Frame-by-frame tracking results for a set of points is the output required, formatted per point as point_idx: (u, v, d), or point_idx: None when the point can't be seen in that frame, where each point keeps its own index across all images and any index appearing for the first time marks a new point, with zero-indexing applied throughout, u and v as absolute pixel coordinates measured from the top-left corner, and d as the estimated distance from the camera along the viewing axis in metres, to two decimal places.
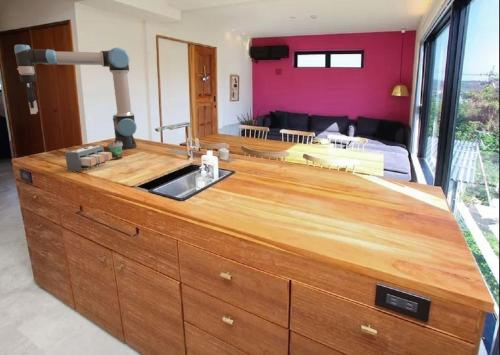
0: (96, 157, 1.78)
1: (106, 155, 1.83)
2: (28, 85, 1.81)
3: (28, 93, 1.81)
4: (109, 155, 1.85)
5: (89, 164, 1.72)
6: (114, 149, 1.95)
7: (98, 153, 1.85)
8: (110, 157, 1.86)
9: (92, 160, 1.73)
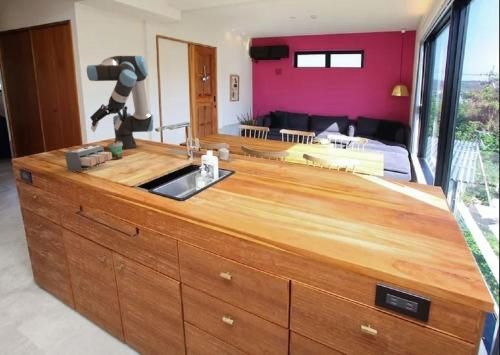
0: (96, 157, 1.78)
1: (106, 155, 1.83)
2: None
3: None
4: (109, 155, 1.85)
5: (89, 164, 1.72)
6: (114, 149, 1.95)
7: (98, 153, 1.85)
8: (110, 157, 1.86)
9: (92, 160, 1.73)
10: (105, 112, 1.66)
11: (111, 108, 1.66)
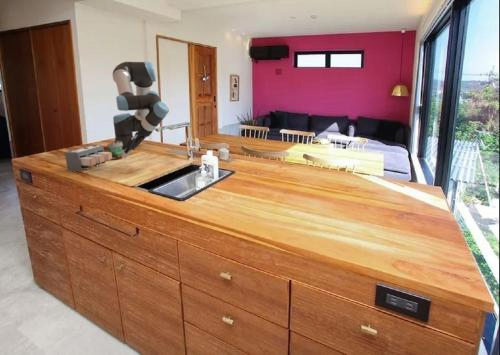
0: (96, 157, 1.78)
1: (106, 155, 1.83)
2: None
3: None
4: (109, 155, 1.85)
5: (89, 164, 1.72)
6: (114, 149, 1.95)
7: (98, 153, 1.85)
8: (110, 157, 1.86)
9: (92, 160, 1.73)
10: (134, 140, 1.75)
11: (139, 136, 1.72)
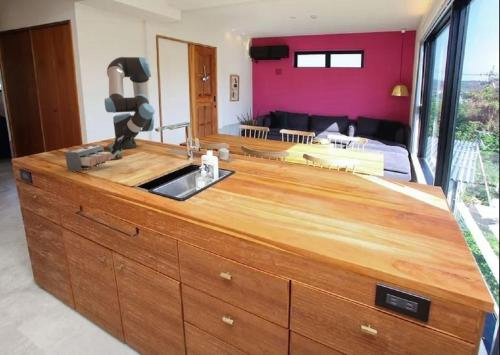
0: (96, 157, 1.78)
1: (106, 155, 1.83)
2: None
3: None
4: None
5: (89, 164, 1.72)
6: None
7: (98, 153, 1.85)
8: None
9: (92, 160, 1.73)
10: (121, 141, 1.77)
11: (126, 137, 1.75)
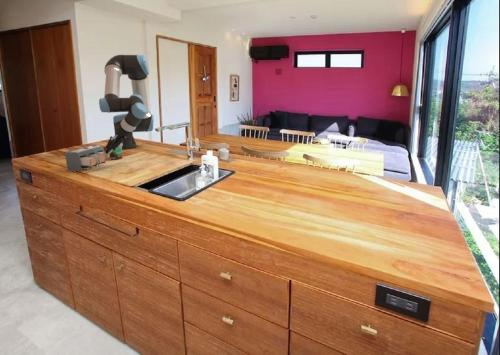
0: (96, 157, 1.78)
1: None
2: None
3: None
4: None
5: (89, 164, 1.72)
6: None
7: None
8: None
9: (92, 160, 1.73)
10: (114, 141, 1.79)
11: (119, 136, 1.76)
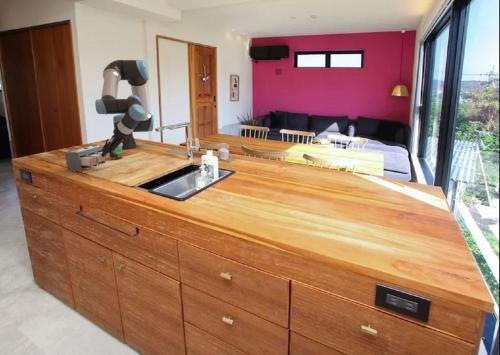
0: (94, 157, 1.78)
1: None
2: None
3: None
4: None
5: (89, 164, 1.72)
6: None
7: None
8: None
9: (92, 160, 1.73)
10: (111, 144, 1.72)
11: (116, 139, 1.69)
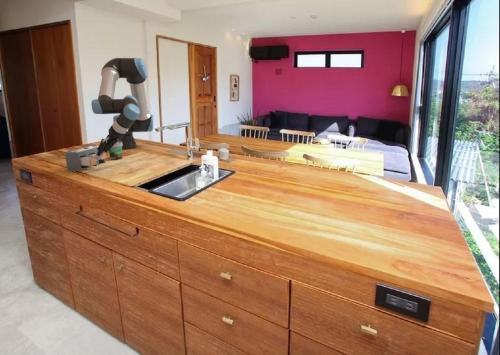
0: (89, 156, 1.79)
1: None
2: None
3: None
4: None
5: (89, 164, 1.72)
6: (114, 149, 1.95)
7: None
8: (103, 157, 1.87)
9: (92, 160, 1.73)
10: (106, 143, 1.73)
11: (111, 138, 1.70)
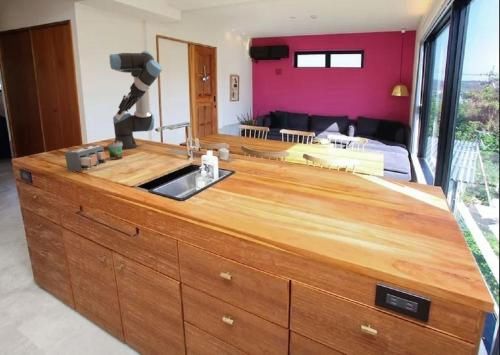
0: (89, 156, 1.79)
1: (99, 155, 1.85)
2: None
3: None
4: (102, 155, 1.86)
5: (89, 164, 1.72)
6: (114, 149, 1.95)
7: None
8: (103, 157, 1.87)
9: (92, 160, 1.73)
10: (128, 101, 1.75)
11: (133, 95, 1.72)
